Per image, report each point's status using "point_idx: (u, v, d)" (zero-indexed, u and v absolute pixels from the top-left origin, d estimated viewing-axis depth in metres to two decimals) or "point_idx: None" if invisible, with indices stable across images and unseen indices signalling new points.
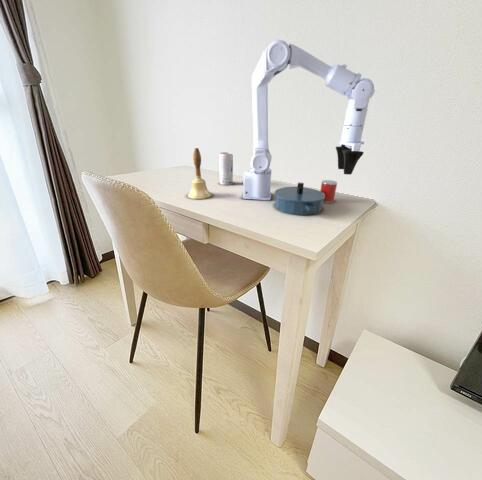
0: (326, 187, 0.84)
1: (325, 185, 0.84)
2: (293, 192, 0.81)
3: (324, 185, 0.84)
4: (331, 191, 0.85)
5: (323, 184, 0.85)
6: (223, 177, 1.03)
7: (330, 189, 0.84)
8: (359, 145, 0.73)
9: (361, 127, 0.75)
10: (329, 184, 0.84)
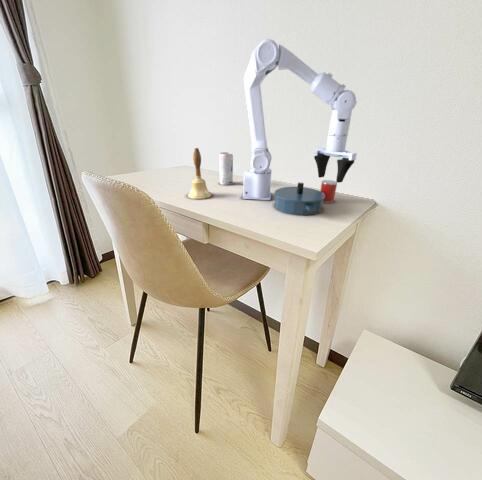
0: (326, 187, 0.84)
1: (325, 185, 0.84)
2: (293, 192, 0.81)
3: (324, 185, 0.84)
4: (331, 191, 0.85)
5: (323, 184, 0.85)
6: (223, 177, 1.03)
7: (330, 189, 0.84)
8: (355, 154, 0.76)
9: None
10: (329, 184, 0.84)
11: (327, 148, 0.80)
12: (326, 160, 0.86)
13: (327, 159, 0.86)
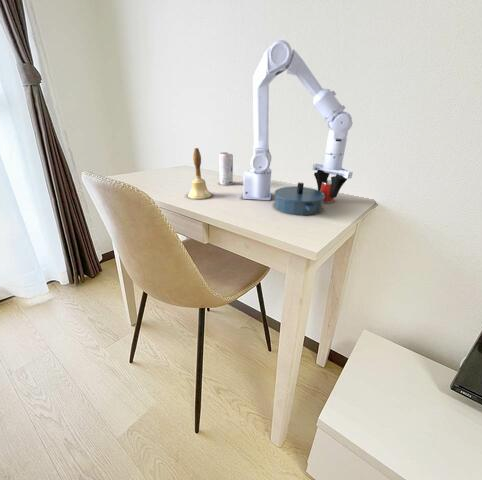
0: (326, 187, 0.84)
1: (325, 185, 0.84)
2: (293, 192, 0.81)
3: (324, 185, 0.85)
4: None
5: (323, 184, 0.85)
6: (223, 177, 1.03)
7: (330, 189, 0.84)
8: (351, 173, 0.78)
9: (343, 155, 0.81)
10: (329, 184, 0.84)
11: (324, 166, 0.82)
12: (326, 177, 0.88)
13: (327, 176, 0.88)
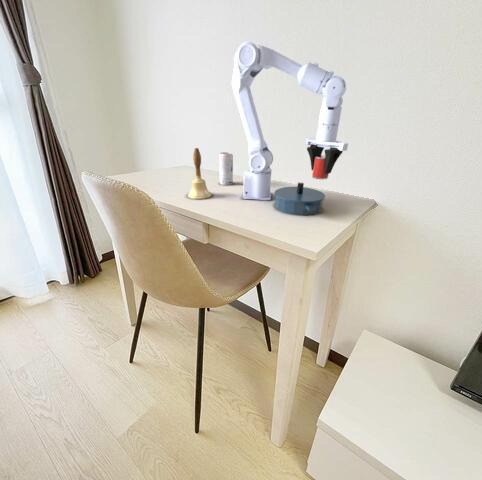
0: (319, 162, 0.78)
1: (318, 159, 0.78)
2: (293, 192, 0.81)
3: (318, 160, 0.78)
4: None
5: (316, 159, 0.79)
6: (223, 177, 1.03)
7: (324, 164, 0.78)
8: (347, 144, 0.72)
9: (338, 125, 0.75)
10: (323, 158, 0.78)
11: (317, 138, 0.76)
12: (319, 152, 0.82)
13: (320, 151, 0.82)
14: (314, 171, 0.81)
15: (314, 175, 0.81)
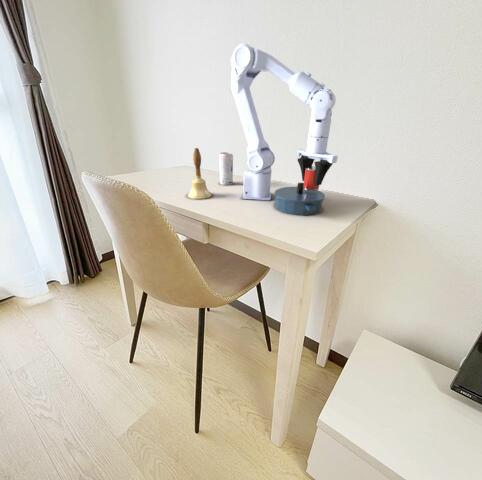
0: (310, 173, 0.78)
1: (309, 171, 0.78)
2: (293, 192, 0.81)
3: (308, 171, 0.78)
4: None
5: (307, 170, 0.79)
6: (223, 177, 1.03)
7: (314, 176, 0.78)
8: (336, 157, 0.72)
9: None
10: (313, 170, 0.77)
11: (307, 150, 0.76)
12: (310, 163, 0.81)
13: (311, 162, 0.81)
14: (305, 182, 0.80)
15: (305, 186, 0.81)
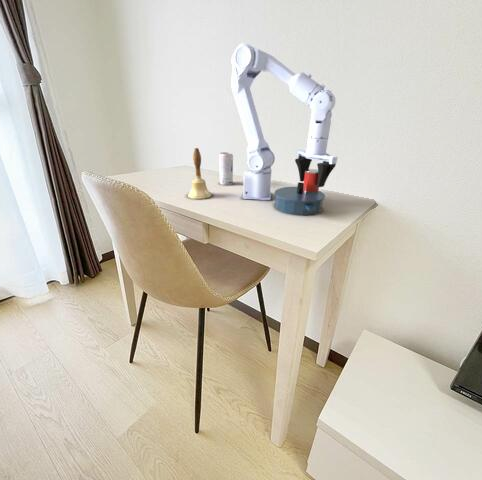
0: (309, 176, 0.78)
1: (308, 174, 0.78)
2: (293, 192, 0.81)
3: (308, 174, 0.79)
4: (315, 180, 0.79)
5: (306, 173, 0.79)
6: (223, 177, 1.03)
7: (313, 178, 0.78)
8: (336, 158, 0.72)
9: None
10: (312, 173, 0.78)
11: (307, 151, 0.76)
12: (308, 163, 0.82)
13: (309, 162, 0.82)
14: (304, 185, 0.81)
15: (304, 189, 0.81)
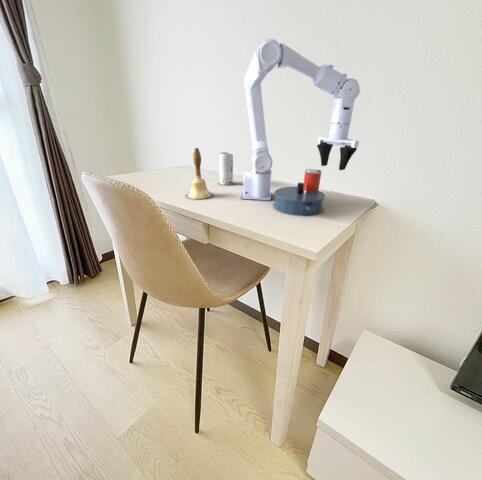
0: (309, 176, 0.78)
1: (308, 174, 0.78)
2: (293, 192, 0.81)
3: (308, 174, 0.79)
4: (315, 180, 0.79)
5: (306, 173, 0.79)
6: (223, 177, 1.03)
7: (313, 178, 0.78)
8: (358, 142, 0.78)
9: (349, 124, 0.80)
10: (312, 173, 0.78)
11: (330, 136, 0.82)
12: (329, 149, 0.88)
13: (330, 148, 0.88)
14: (304, 185, 0.81)
15: (304, 189, 0.81)
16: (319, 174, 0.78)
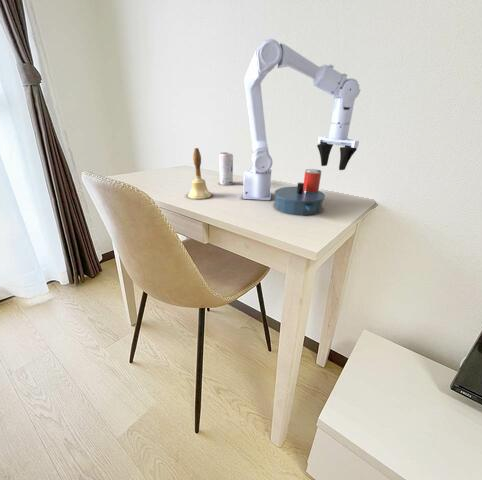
0: (309, 176, 0.78)
1: (308, 174, 0.78)
2: (293, 192, 0.81)
3: (308, 174, 0.79)
4: (315, 180, 0.79)
5: (306, 173, 0.79)
6: (223, 177, 1.03)
7: (313, 178, 0.78)
8: (358, 142, 0.78)
9: (349, 124, 0.80)
10: (312, 173, 0.78)
11: (330, 136, 0.82)
12: (329, 149, 0.88)
13: (330, 148, 0.88)
14: (304, 185, 0.81)
15: (304, 189, 0.81)
16: (319, 174, 0.78)
